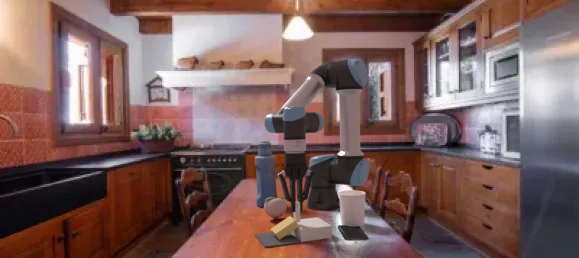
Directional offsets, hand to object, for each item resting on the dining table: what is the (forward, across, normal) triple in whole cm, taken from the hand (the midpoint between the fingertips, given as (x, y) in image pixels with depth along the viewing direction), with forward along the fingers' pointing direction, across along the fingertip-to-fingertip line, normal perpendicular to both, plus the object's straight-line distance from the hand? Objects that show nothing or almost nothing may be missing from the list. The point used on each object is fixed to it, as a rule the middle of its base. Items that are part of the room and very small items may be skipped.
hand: (297, 221), depth 131 cm
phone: (+6, +19, -4) cm, 20 cm away
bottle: (+5, +3, +50) cm, 50 cm away
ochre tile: (+3, -4, 0) cm, 5 cm away
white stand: (+5, +5, 0) cm, 7 cm away
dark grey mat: (+5, -7, 0) cm, 9 cm away
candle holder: (+6, +24, +5) cm, 25 cm away
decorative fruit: (+6, 0, +24) cm, 25 cm away
